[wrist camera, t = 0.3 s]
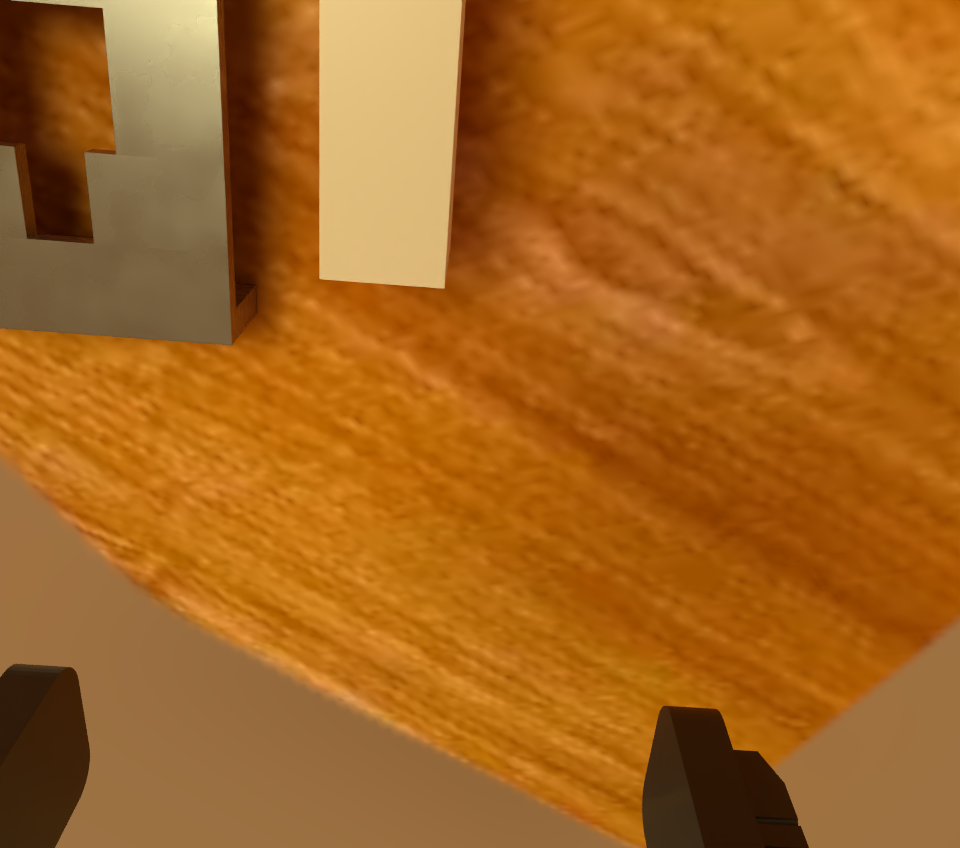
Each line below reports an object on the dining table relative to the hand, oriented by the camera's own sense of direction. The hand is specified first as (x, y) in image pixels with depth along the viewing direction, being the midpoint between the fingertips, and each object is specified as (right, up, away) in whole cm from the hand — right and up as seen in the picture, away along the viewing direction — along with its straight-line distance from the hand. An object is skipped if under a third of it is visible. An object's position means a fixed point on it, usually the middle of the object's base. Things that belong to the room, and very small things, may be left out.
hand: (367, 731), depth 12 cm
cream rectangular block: (-1, +19, +20) cm, 28 cm away
